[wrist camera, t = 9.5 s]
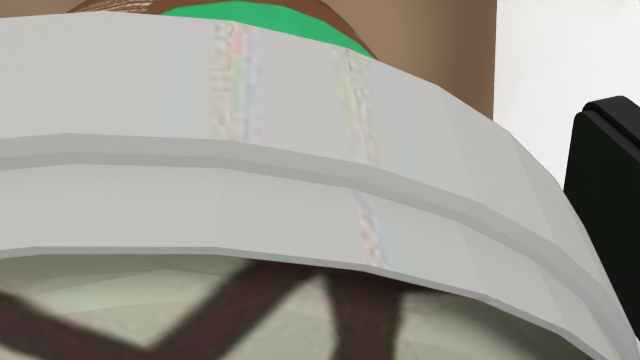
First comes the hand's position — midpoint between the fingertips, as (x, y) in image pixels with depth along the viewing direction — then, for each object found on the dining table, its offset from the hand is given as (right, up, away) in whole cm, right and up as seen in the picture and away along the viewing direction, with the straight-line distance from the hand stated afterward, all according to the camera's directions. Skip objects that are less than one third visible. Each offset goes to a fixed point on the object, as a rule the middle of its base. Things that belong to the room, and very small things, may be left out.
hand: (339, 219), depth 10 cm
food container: (-1, +3, +4) cm, 5 cm away
